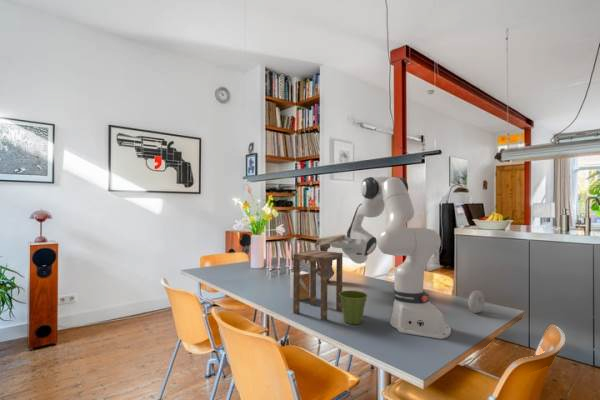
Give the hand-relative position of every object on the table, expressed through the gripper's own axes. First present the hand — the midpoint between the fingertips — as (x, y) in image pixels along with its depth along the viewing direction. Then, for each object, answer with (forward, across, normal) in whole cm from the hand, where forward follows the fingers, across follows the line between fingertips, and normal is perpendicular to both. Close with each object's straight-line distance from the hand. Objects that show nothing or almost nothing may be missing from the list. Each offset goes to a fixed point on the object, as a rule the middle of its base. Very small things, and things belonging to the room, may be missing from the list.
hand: (340, 236), depth 163 cm
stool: (+3, 0, +39) cm, 39 cm away
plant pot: (+5, +18, +40) cm, 44 cm away
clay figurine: (-39, -24, +15) cm, 48 cm away
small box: (-7, -18, +33) cm, 38 cm away
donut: (-31, +59, +19) cm, 70 cm away
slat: (+7, 0, +6) cm, 9 cm away
